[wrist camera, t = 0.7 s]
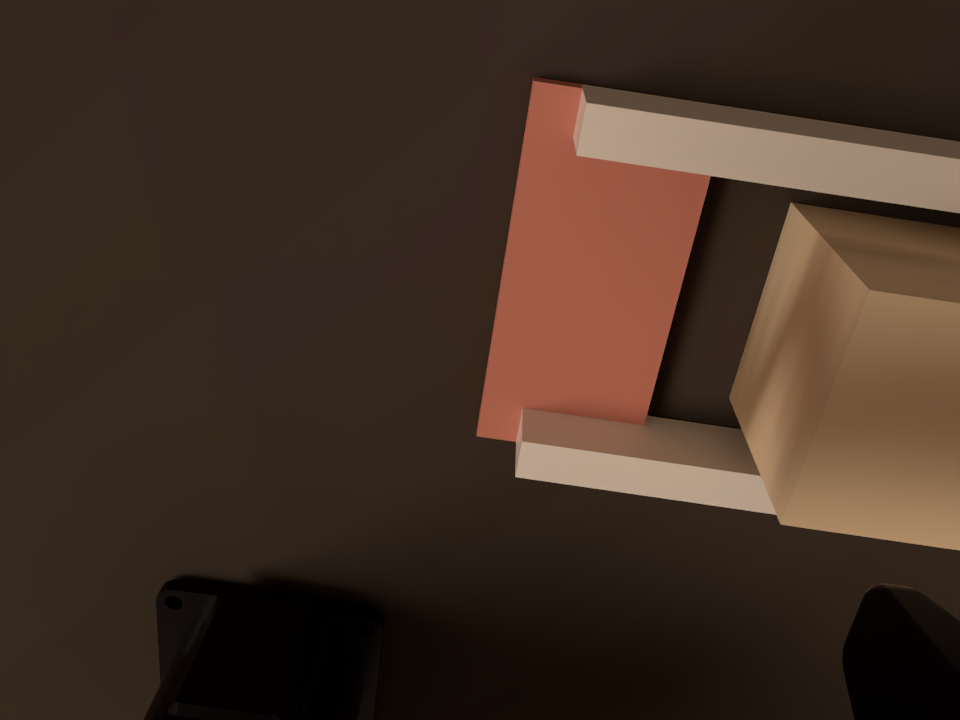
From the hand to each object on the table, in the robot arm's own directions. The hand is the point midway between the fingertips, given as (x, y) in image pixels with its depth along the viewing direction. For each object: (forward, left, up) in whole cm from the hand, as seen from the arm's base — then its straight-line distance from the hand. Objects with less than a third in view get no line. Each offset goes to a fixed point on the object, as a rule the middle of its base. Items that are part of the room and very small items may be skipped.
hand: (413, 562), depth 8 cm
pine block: (-1, -9, -12) cm, 15 cm away
